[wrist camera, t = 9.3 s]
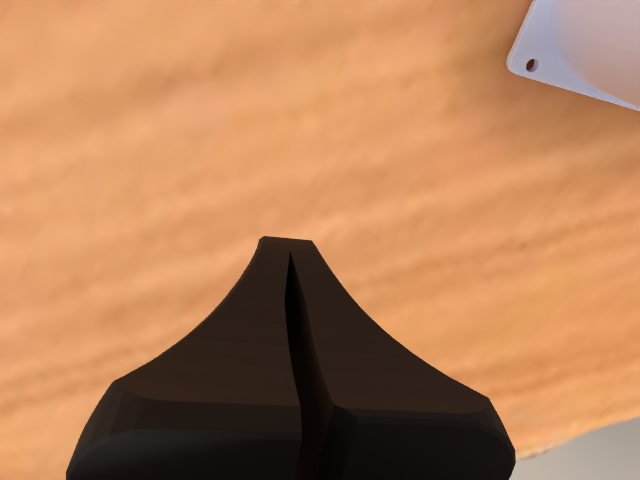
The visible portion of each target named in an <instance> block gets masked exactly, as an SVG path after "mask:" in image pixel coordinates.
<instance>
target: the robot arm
mask: <svg viewBox="0 0 640 480" xmlns="http://www.w3.org/2000/svg"><path fill="white" fill-rule="evenodd" d="M531 59H534V66H533V67H532V68H531V69H529V70H526V64H527V63H528V61H529V60H531ZM506 66H507V68H508V70H509V71H511V72H512V73H514V74H516V75H519V76H523V77H526V78H530V79H533V80H536V81H540V82H543V83H546V84H550V85H553V86H556V87H560V88H563V89H567V90H570V91H573V92H577V93H580V94H583V95H587V96H590V97H594V98H597V99H600V100H604V101H607V102H610V103H614V104H617V105H620V106H624V107H627V108H631V109H634V110H637V111H640V0H533V1H532V3H531V6H530V8H529V10H528V12H527V15H526V17H525V19H524V21H523V24H522V26H521V28H520V30H519V33H518V35H517V37H516V39H515V41H514V44H513V46H512V48H511V50H510V53H509V55H508V57H507V61H506ZM515 463H516V460H515V449H514V447H513V445H512V443H511V441H510V439H509V436H508V434H507V432H506V430H505V427H504V425H503V423H502V421H501V419H500V417H499V415H498V414H497V412H496V410H495V408H494V407H493V405H492V403H491V401H490V400H489V398H488V397H486V396H484V395H482V394H480V393H478V392H476V391H474V390H473V389H471V388H469V387H467V386H465V385H463V384H461V383H459V382H458V381H456V380H454V379H452V378H450V377H448V376H447V375H445V374H444V373H442V372H440V371H439V370H437V369H436V368H434V367H432V366H431V365H429V364H428V363H426V362H425V361H423V360H422V359H420V358H419V357H417V356H416V355H415V354H413V353H412V352H410V351H409V350H408V349H407V348H405V347H404V346H403V345H401V344H400V343H399V342H398V341H396V340H395V339H394V338H392V337H391V336H390V335H389V334H388V333H387V332H385V331H384V330H383V329H382V328H381V327H380V326H379V325H378V324H377V323H376V322H375V321H373V320H372V319H371V318H370V317H369V316H368V315H367V314H366V313H365V312H364V311H363V310H362V309H361V308H360V306H359V305H358V304H357V303H356V302H355V301H354V300H353V298H352V297H351V296H350V295H349V294H348V292H347V291H346V290H345V289H344V287H343V286H342V284H341V283H340V282H339V280H338V279H337V278H336V276H335V275H334V274H333V272H332V271H331V269H330V268H329V266H328V265H327V263H326V262H325V260H324V259H323V257H322V256H321V254H320V252H319V251H318V249H317V247H316V246H315V244H314V243H313V242H312V241H311V240H301V239H290V238H279V237H268V236H263V237H262V238H261V239H259V243H258V246H257V249H256V251H255V254H254V256H253V258H252V259H251V261H250V263H249V265H248V266H247V268H246V269H245V271H244V273H243V274H242V276H241V277H240V279H239V280H238V282H237V283H236V284H235V286H234V287H233V288H232V289H231V291H230V292H229V293H228V295H227V296H226V297H225V298H224V300H223V301H222V302H221V303H220V304H219V305H218V306H217V307H216V309H215V310H214V311H213V312H212V313H211V314H210V315H209V316H208V317H207V318H206V319H205V320H203V321H202V322H201V323H200V324H199V325H198V326H197V327H196V328H195V329H193V330H192V331H191V332H190V333H189V334H188V335H186V336H185V337H184V338H183V339H181V340H180V341H179V342H177V343H176V344H175V345H173V346H172V347H170V348H169V349H168V350H166V351H165V352H163V353H162V354H161V355H159V356H158V357H156V358H155V359H153V360H152V361H150V362H148V363H147V364H145V365H143V366H141V367H139V368H138V369H136V370H134V371H132V372H130V373H128V374H127V375H125V376H123V377H121V378H119V379H117V380H115V381H113V382H112V384H111V385H110V386H109V388H108V389H107V391H106V392H105V394H104V395H103V397H102V398H101V400H100V401H99V403H98V405H97V406H96V408H95V410H94V411H93V413H92V415H91V417H90V418H89V420H88V422H87V424H86V426H85V427H84V429H83V431H82V434H81V436H80V438H79V440H78V443H77V446H76V448H75V451H74V453H73V456H72V458H71V461H70V463H69V466H68V468H67V471H66V480H509V478H510V476H511V474H512V471H513V468H514V466H515Z"/></svg>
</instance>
